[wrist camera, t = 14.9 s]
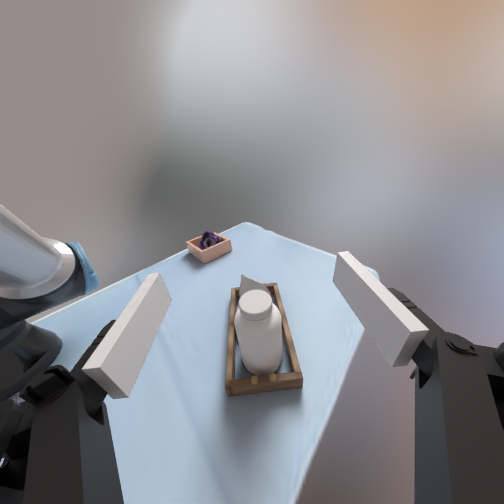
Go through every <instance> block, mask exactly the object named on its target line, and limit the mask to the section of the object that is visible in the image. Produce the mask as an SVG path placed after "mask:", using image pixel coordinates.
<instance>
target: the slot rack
mask: <svg viewBox="0 0 504 504" xmlns="http://www.w3.org/2000/svg"><path fill="white" fill-rule="evenodd" d="M266 286H267V289H268V290H269V292H270V293H271V294H274V295H275V299H276V304H277V308H278V310H279V312H280V314H281V321H282V329H283V333H284V337H285V342H286V346H287V350H288V354H289V358H290V363H291V367H292V371H293V372H291V373H283V374H275V373H271V374H270V375H267V376H258V377H257V376H256V375H253V376H252V377H250V378H242V379H235V351H236V335H237V334H236V329H235V324H234V318H235V314H236V308H237V298H240V295H239V290H240V287H238V288H232V289H231V305H230V321H229V337H228V353H227V369H226V385H225V388H226V391H227V393H228V396H235V395H243V394H252V393H260V392H268V391H276V390H285V389H293V388H301V387H303V376H302V373H301V369H300V365H299V362H298V358H297V355H296V351H295V347H294V344H293V340H292V336H291V333H290V329H289V326H288V322H287V318H286V315H285V311H284V308H283V304H282V300H281V297H280V293H279V289H278V286H277V283H270V284H266Z"/></svg>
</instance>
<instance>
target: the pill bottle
mask: <svg viewBox="0 0 504 504" xmlns="http://www.w3.org/2000/svg"><path fill="white" fill-rule="evenodd" d="M234 324H235V329H236V334H237V338H238V343H239V347H240V352H241V356H242V361H243V363H244V365H245V367H246V368H247V370H248V371H249V372H251V373H252V374H254V375H257V376H267V375H270V374H271V373H274V372H275V371H276V370H277V369H278V368H279V366H280V364H281V361H282V321H281V314H280V312H279V310H278V308H277V307H276V306H275V305H274V304H273V303H272V298H271V296H270V295H269V294H268V293H267V292H265V291H262V290H251V291H248V292H246V293H244V294H243V295H242V296H241V298H240V300H239V308H238V310H237V312H236V314H235V318H234Z"/></svg>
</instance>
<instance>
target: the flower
mask: <svg viewBox="0 0 504 504" xmlns="http://www.w3.org/2000/svg"><path fill="white" fill-rule="evenodd" d="M220 242H221V238H220V237H218V236H215V234H214V232H213V231H211V232H208V231H205V232H204V233H203V235H202V239H201V241H200V243H199V248H200V249H202V250H204V249H207V248H209V247H211V246H214V245H216V244H218V243H220Z"/></svg>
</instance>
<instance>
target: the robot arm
mask: <svg viewBox="0 0 504 504" xmlns="http://www.w3.org/2000/svg"><path fill="white" fill-rule="evenodd" d="M333 283H334V284H335V286H336V287H337V288H338V290H339V291H340V293H341V294H342V296H343V297H344V299H345V300H346V301H347V303H348V304H349V306H350V307H351V309H352V310H353V312H354V313H355V315H356V316H357V317H358V319H359V320H360V322H361V323H362V325H363V326H364V328H365V329H366V330H367V332H368V333H369V335H370V336H371V338H372V339H373V341H374V342H375V344H376V345H377V346H378V348H379V349H380V351H381V352H382V354H383V355H384V357H385V358H386V359H387V361H388V362H389V364H390V365H391V366H392V367H397V366H406V365H408V363H409V362H410V360H411V358H412V359H413V361H414V362H415V363H416V365H417V366H416V368H415V369H414V371H413V372H412V374H411V376H410V378H411V379H413V378H414V377H415V504H504V343H502V344H501V345H500V346H499V347H498V348H492V347H486V346H479V345H474V344H473V343H471V342H470V341H468V340H467V339H465V338H463V337H461V336H459V335H457V334H453V333H449V332H445V331H444V330H443V329H441V328H440V327H439V326H438V325H437V324H436V323H435V322H434V321H433V320H432V319H430V318H429V317H428V316H427V315H426V314H425V313H424V312H423V311H422V310H420V309H419V308H417V306H416V305H415V304H414V303H413V302H411V301H410V300H409V299H408V298H407V297H406V296H405V295H404V294H403V293H401V292H399V291H397V290H396V289H394V288H385V287H384V286H383V285H382V284H381V283H380V282H379V281H378V280H377V279H376V278H375V277H374V276H373V275H372V274H371V273H370V272H369V271H368V270H367V269H366V268H365V267H364V266H363V265H362V264H361V263H359V261H357V260H356V259H355V258H354V257H353V256H352V255H351V254H350V253H349V252H348V251H345V252H338V253H337V259H336V265H335V271H334V277H333ZM98 286H99V280H98V278H97V276H96V274H95V272H94V270H93V268H92V266H91V264H90V262H89V260H88V258H87V256H86V254H85V252H84V250H83V248H82V246H81V245H80V244H79V243H77V242H72V243H65V244H63V243H62V242H59V241H57V240H53V239H50V238H42V237H40V236H39V235H38V234H37V233H36V232H34V231H33V230H32V229H31V228H29V227H28V226H27V225H26V224H24V223H23V222H22V221H21V220H20V219H18V218H17V217H16V216H15V215H13V214H12V213H11V212H10V211H8V210H7V209H6V208H5V207H4V206H2V205H1V204H0V461H1V459H2V458H4V461H3V463H2V465H1V467H0V504H124V501H123V496H122V490H121V485H120V479H119V474H118V468H117V463H116V457H115V452H114V447H113V441H112V436H111V430H110V425H109V419H108V414H107V408H106V405H105V403H104V402H103V401H104V399H105V397H106V395H107V394H108V395H109V396H110V397H111V398H113V399H119V398H127V397H129V395H130V393H131V391H132V389H133V386H134V384H135V382H136V380H137V377H138V375H139V373H140V371H141V368H142V366H143V364H144V362H145V359H146V357H147V355H148V352H149V350H150V348H151V346H152V343H153V341H154V339H155V337H156V334H157V332H158V330H159V328H160V325H161V323H162V321H163V319H164V316H165V314H166V312H167V310H168V307H169V305H170V303H171V301H172V299H171V297H170V294H169V292H168V290H167V287H166V285H165V283H164V281H163V278H162V276H161V274H160V272H159V273H150V274H149V275H148V276H147V278H146V279H145V281H144V282H143V284H142V285H141V286H140V288H139V289H138V291H137V292H136V293H135V295H134V296H133V298H132V299H131V300H130V302H129V303H128V305H127V306H126V307H125V309H124V310H123V312H122V313H121V315H120V316H119V317H118V319H117V320H112V321H111V322H110V323H108V324H107V325H106V326H105V327H104V328H103V329H102V330H101V332H100V333H99V334H98V336H97V338H95V340H94V341H93V342H92V344H91V346H89V348H88V349H87V350H86V352H85V353H84V354H83V356H82V357H81V358H80V360H79V361H78V362H77V364H76V365H75V366H74V368H73V369H72V370H71V372H69V371H68V370H67V369H66V368H65V367H63V366H61V365H55V366H51V367H49V368H47V367H48V366H49V365H50V364H51V363H52V362H53V361H54V359H55V358H56V357H57V355H58V354H59V352H60V350H61V347H62V340H61V339H60V338H59V337H58V336H57V335H56V334H55V333H53V332H51V331H48V330H45V329H43V328H40V327H37V326H35V325H32V324H29V323H27V322H26V321H25V319H27V318H29V317H31V316H34V315H36V314H39V313H41V312H43V311H46V310H48V309H50V308H53V307H55V306H57V305H60V304H62V303H64V302H67V301H69V300H71V299H73V298H76V297H78V296H83V295H85V294H87V293H88V292H90V291H92V290H94V289H96V288H97V287H98ZM46 368H47V369H46ZM23 387H24V388H23ZM22 388H23V389H22ZM21 389H22V390H21ZM19 390H21V393H20V395H19V397H21V398H22V399H24V400H25V401H24V402H22V403H17V402H16V401H14V400H12V399H6V398H8V397H9V396H11V395H13V394H14V393H16V392H18V391H19ZM4 399H6V400H4ZM2 400H3V401H2Z"/></svg>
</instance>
